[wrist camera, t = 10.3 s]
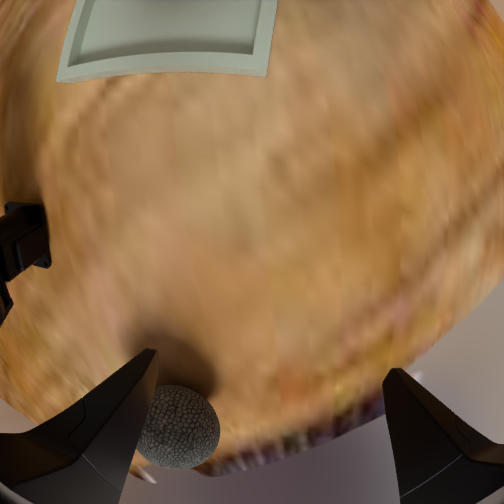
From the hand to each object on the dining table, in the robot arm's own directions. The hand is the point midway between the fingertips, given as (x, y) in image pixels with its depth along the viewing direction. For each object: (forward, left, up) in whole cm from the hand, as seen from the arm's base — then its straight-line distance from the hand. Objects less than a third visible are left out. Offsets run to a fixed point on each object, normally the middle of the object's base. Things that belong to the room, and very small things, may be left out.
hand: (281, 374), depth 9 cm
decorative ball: (-7, -20, -13) cm, 25 cm away
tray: (-10, +20, -12) cm, 26 cm away
